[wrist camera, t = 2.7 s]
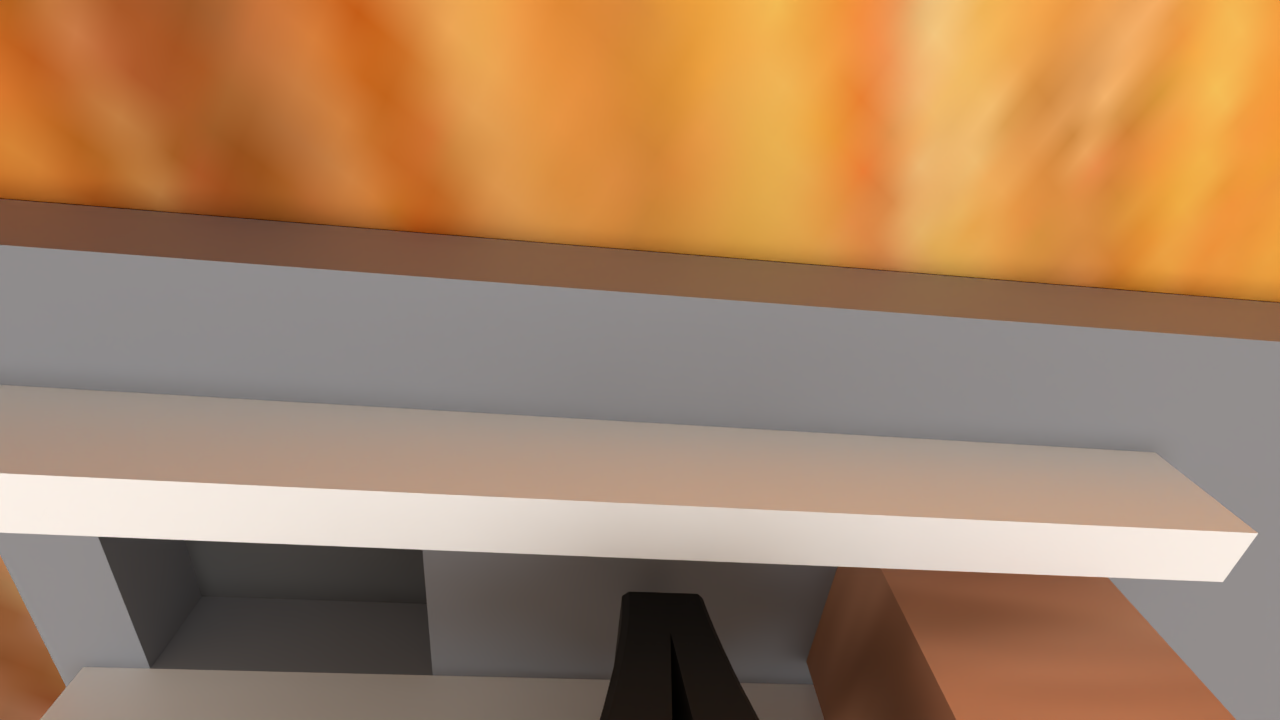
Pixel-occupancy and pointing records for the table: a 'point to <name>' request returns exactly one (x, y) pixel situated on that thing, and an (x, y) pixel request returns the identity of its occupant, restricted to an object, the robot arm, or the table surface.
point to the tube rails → (560, 518)
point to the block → (995, 651)
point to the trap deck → (599, 390)
